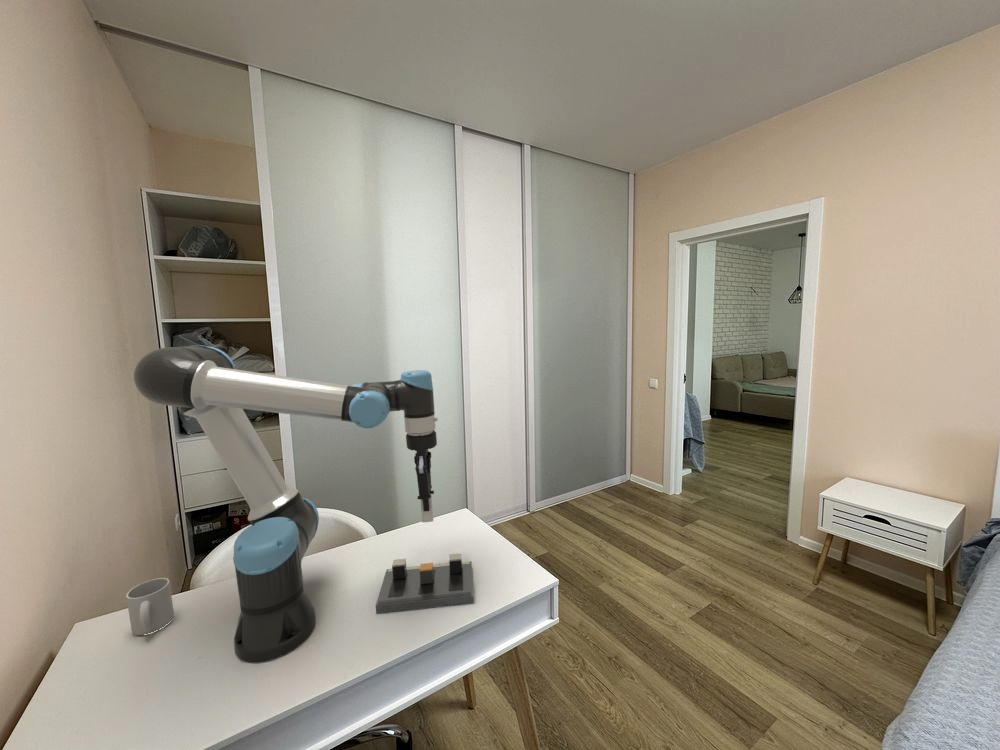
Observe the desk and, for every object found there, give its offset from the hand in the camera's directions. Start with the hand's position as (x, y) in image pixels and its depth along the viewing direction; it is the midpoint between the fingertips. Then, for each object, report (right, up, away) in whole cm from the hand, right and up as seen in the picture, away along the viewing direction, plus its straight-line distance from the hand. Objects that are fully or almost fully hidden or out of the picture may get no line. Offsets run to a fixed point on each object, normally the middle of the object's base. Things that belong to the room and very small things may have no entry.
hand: (427, 520), depth 103 cm
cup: (-58, -19, -15) cm, 63 cm away
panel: (+1, -15, -5) cm, 16 cm away
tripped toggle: (+1, -13, -6) cm, 14 cm away
